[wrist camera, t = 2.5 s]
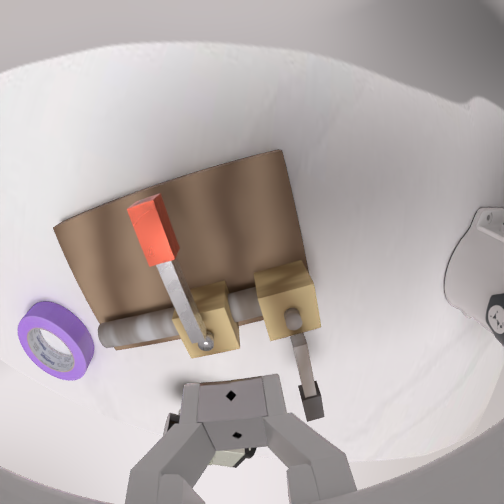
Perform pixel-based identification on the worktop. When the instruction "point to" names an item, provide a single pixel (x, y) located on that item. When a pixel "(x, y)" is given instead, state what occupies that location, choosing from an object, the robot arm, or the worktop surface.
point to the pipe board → (203, 263)
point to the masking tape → (66, 330)
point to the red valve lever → (168, 264)
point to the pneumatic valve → (221, 457)
